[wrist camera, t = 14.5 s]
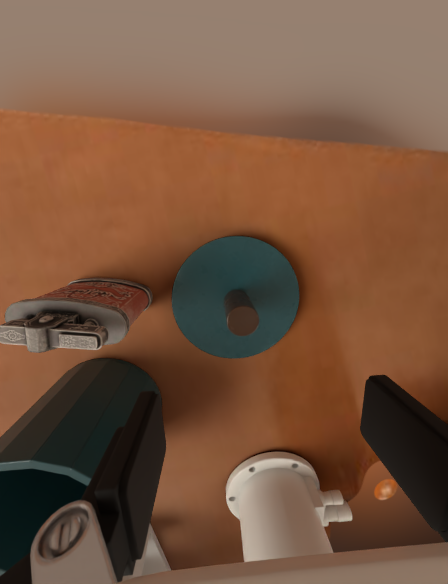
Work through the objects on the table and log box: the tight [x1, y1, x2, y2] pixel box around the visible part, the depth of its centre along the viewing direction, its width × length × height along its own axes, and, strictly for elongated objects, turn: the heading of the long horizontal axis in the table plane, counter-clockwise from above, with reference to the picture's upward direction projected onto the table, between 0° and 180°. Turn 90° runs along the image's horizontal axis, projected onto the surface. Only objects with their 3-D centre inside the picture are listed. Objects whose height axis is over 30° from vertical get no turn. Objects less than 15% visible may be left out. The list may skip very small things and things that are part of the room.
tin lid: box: [172, 236, 299, 358], centre depth 21 cm, size 13×13×6 cm
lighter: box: [0, 278, 153, 353], centre depth 18 cm, size 8×3×10 cm, turn 84°
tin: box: [0, 358, 162, 576], centre depth 21 cm, size 12×12×12 cm
